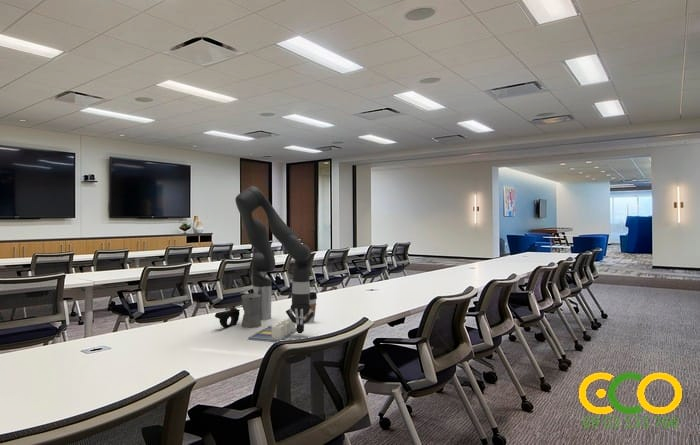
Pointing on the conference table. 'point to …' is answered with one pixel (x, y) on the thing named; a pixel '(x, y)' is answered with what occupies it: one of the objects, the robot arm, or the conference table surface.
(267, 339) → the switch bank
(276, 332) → the white toy brick
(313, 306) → the coffee cup
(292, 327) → the white studded block
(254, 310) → the coffeepot
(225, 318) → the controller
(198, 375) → the conference table surface
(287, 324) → the cream white block
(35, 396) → the conference table surface
